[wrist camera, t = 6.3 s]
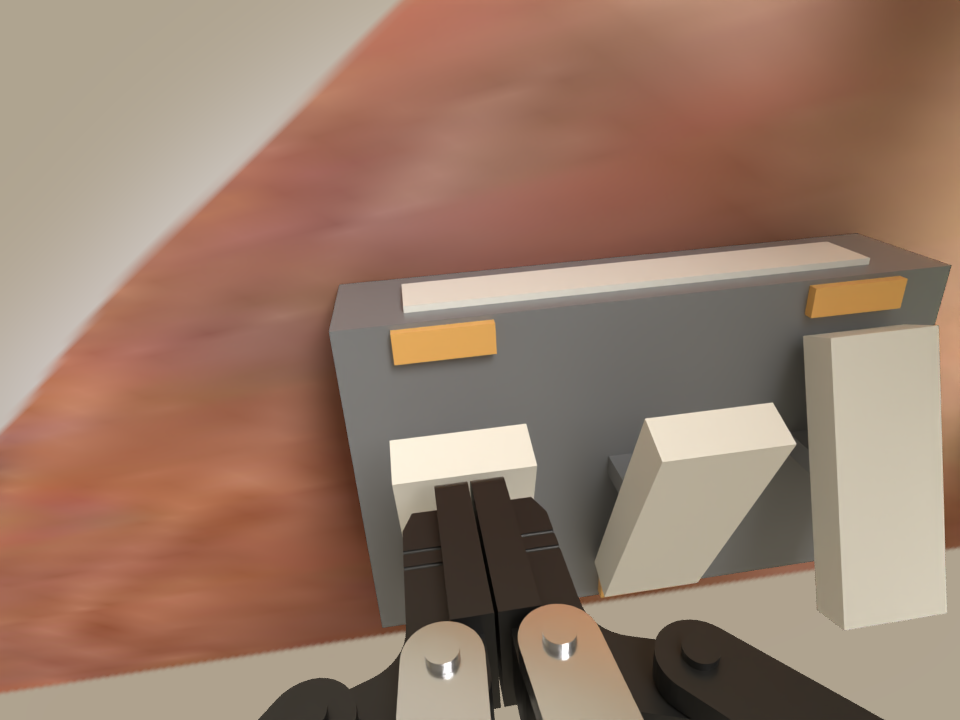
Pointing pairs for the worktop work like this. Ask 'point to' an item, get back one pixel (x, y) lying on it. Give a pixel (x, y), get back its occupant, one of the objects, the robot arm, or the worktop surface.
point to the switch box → (608, 373)
